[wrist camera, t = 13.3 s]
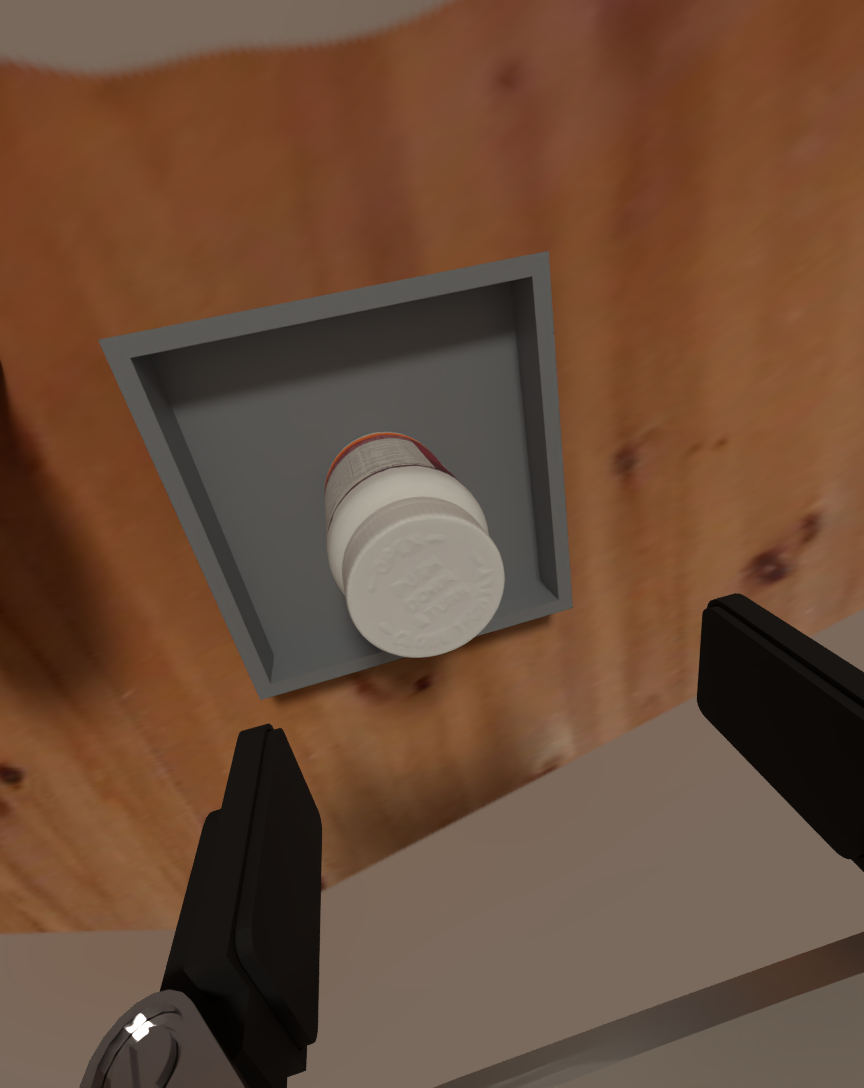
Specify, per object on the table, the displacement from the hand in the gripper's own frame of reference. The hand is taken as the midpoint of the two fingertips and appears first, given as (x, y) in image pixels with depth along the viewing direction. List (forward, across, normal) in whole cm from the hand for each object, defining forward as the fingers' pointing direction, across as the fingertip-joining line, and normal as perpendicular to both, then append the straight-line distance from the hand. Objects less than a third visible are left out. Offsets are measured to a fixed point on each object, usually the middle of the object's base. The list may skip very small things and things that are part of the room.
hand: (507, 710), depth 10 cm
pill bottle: (+17, +1, 0) cm, 17 cm away
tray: (+17, +1, 0) cm, 17 cm away
